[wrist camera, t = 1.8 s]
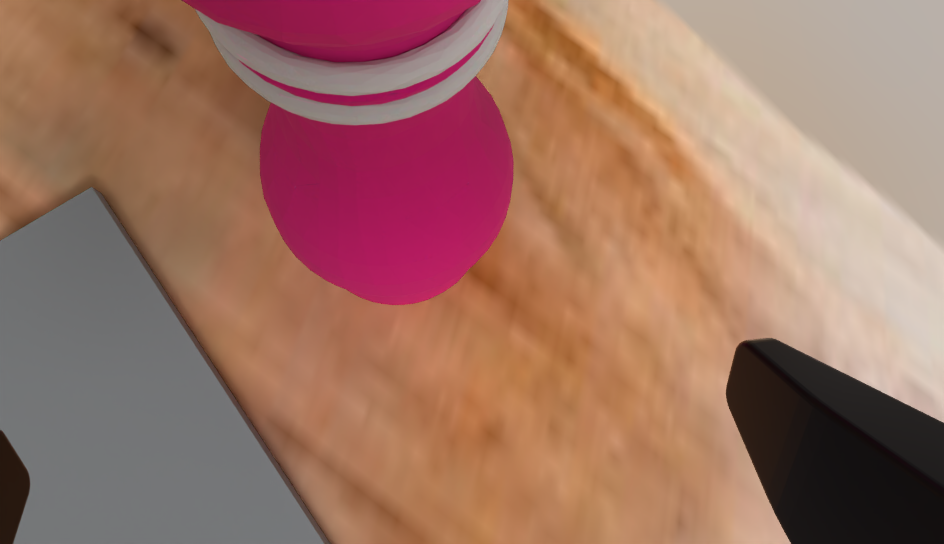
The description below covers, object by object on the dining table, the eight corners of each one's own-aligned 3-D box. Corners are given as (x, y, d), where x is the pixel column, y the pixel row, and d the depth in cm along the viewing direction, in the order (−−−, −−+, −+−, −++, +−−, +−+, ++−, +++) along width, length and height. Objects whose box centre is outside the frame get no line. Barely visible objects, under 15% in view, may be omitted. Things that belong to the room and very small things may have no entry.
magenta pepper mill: (262, 188, 22) (-1015, -1538, 3) (432, 99, 23) (434, -1505, 4) (360, 358, 21) (-647, -490, 1) (534, 254, 22) (1281, -942, 3)
